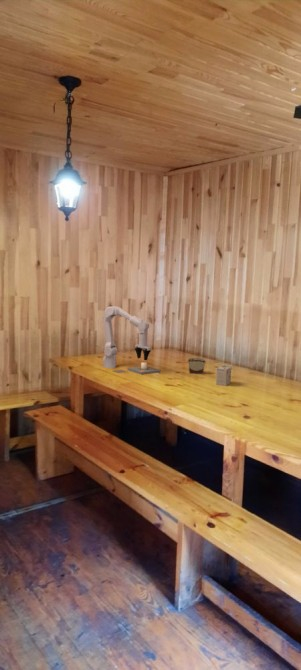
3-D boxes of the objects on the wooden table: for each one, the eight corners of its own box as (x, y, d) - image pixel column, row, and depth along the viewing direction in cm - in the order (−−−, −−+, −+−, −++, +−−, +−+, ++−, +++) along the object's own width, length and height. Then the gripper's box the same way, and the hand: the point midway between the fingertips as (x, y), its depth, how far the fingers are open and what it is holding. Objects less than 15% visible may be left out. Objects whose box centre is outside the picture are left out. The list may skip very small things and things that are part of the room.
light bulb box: (220, 381, 316) (221, 365, 314) (231, 382, 313) (232, 366, 311) (215, 384, 306) (216, 367, 305) (226, 386, 303) (226, 369, 302)
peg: (139, 372, 335) (140, 362, 334) (144, 371, 337) (144, 361, 336) (143, 373, 331) (143, 363, 331) (147, 372, 334) (148, 362, 333)
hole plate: (127, 371, 336) (127, 367, 335) (146, 369, 345) (146, 365, 345) (141, 376, 323) (141, 372, 323) (160, 373, 333) (160, 369, 333)
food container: (205, 372, 342) (205, 358, 341) (205, 374, 336) (205, 360, 335) (187, 371, 343) (188, 357, 342) (187, 373, 337) (187, 359, 336)
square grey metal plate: (111, 372, 331) (111, 370, 331) (121, 371, 336) (121, 369, 336) (118, 374, 325) (118, 373, 325) (128, 373, 330) (128, 371, 330)
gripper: (132, 338, 335) (131, 357, 337) (144, 341, 324) (143, 361, 325) (140, 337, 339) (139, 357, 341) (153, 340, 328) (152, 360, 330)
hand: (142, 359), depth 333 cm, fingers open, 7 cm apart
